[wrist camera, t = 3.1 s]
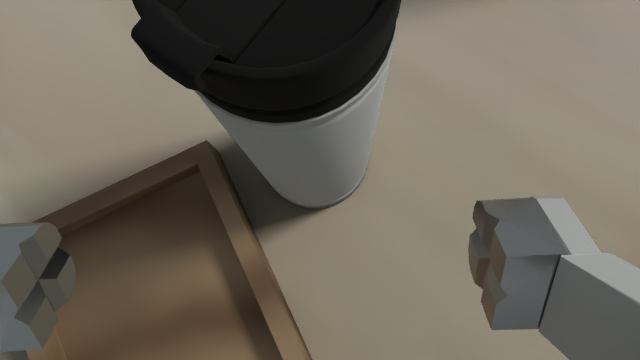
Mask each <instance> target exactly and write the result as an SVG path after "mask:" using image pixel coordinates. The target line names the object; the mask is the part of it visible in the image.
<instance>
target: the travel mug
mask: <svg viewBox="0 0 640 360" xmlns="http://www.w3.org/2000/svg"><path fill="white" fill-rule="evenodd" d="M132 1H133V4H134V6H135V8H136V10H137V12H138V14H139V15H140V17H141V19H140V20H139V21H138V23H137V24H136V25H135V26H134V27H133V29H132V32H131V37H132V38H133V40H134V41H135V42H136V43H137V44H138V46H139V47H140V48H141V49H142V51H143V52H144V54H145V55H146V57H147V58H148V60H149V61H150V62H151V63H152V64H154V65H155V66H156V67H157V68H159V69H160V70H161V71H163V72H164V73H165V74H166V75H168V76H169V77H171V78H172V79H174V80H175V81H177V82H178V83H180V84H181V85H183V86H184V87H186V88H189V89H192V90H194V91H195V92H196V93H197V94H198V95H199V96H200V98H201V99H202V100H203V102H204V103H205V104H206V105H207V107H208V108H209V109H210V110H211V112H212V113H213V114H214V115H215V117H216V118H217V119H218V120H219V122H220V123H221V124H222V125H223V126H224V128H225V129H226V130H227V131H228V133H229V134H230V135H231V136H232V138H233V139H234V140H235V141H236V143H237V144H238V145H239V146H240V148H241V149H242V150H243V151H244V152H245V154H246V155H247V156H248V157H249V159H250V160H251V161H252V162H253V164H254V165H255V166H256V167H257V169H258V170H259V171H260V172H261V173H262V175H263V176H264V177H265V178H266V180H267V181H268V182H269V183H270V185H271V186H272V187H273V188H274V190H275V191H276V192H277V193H278V194H279V195H280V196H282V197H283V198H284V199H285V200H287V201H289V202H290V203H292V204H295V205H297V206H300V207H304V208H311V209H317V208H326V207H330V206H334V205H336V204H338V203H340V202H342V201H344V200H345V199H346V198H348V197H349V196H350V195H352V193H353V192H354V191H355V190H356V189H357V188H358V187H359V185H360V183H361V181H362V180H363V178H364V175H365V172H366V169H367V165H368V161H369V156H370V152H371V147H372V142H373V138H374V133H375V129H376V124H377V120H378V115H379V111H380V106H381V102H382V97H383V92H384V88H385V83H386V79H387V74H388V70H389V65H390V61H391V56H392V51H393V46H394V42H395V37H396V30H397V22H398V13H399V9H400V4H401V0H132Z"/></svg>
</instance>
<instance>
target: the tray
mask: <svg viewBox="0 0 640 360" xmlns="http://www.w3.org/2000/svg"><path fill="white" fill-rule="evenodd" d="M45 222H47V223H50V224H53V225H55V226H56V228H57V230H58V232H59V233H60V235H61V237H62V240H61V242H60V244H59V248H61V249H62V250H64V251H65V252H66V253H68V254H69V255H70V256H71V258H72V260H73V262H74V265H75V270H76V281H75V288H74V291H73V293H72V295H71V297H70V299H69V301H68V302H67V303H66V304H65V305H63V306H62V307H61V308H59V309H58V310H57V311H56V314H57V317H58V322H57V324H56V326H55V328H54V329H53V331H52V333H51V335H50V337H49V339H48V341H47V342H46V344H45V346H44V348H43V349H37V350H26V353H27V356H28V359H29V360H312V358H311V356H310V354H309V352H308V349H307V347H306V345H305V343H304V340H303V338H302V336H301V334H300V332H299V329H298V327H297V325H296V323H295V320H294V318H293V316H292V314H291V312H290V309H289V307H288V305H287V303H286V300H285V298H284V296H283V294H282V292H281V289H280V287H279V285H278V283H277V280H276V278H275V276H274V274H273V272H272V269H271V267H270V265H269V263H268V260H267V258H266V256H265V254H264V252H263V249H262V247H261V245H260V243H259V240H258V238H257V236H256V234H255V232H254V229H253V227H252V225H251V223H250V220H249V218H248V216H247V214H246V212H245V209H244V207H243V205H242V203H241V200H240V198H239V196H238V194H237V192H236V189H235V187H234V185H233V183H232V180H231V178H230V176H229V174H228V172H227V169H226V167H225V165H224V163H223V160H222V158H221V156H220V154H219V152H218V151H217V150H216V149H215V148H214V147H213V146H212V145H211V144H210V143H209V142H208V141H207V140H206V141H204V142H202V143H200V144H198V145H196V146H194V147H192V148H189V149H187V150H185V151H183V152H181V153H179V154H177V155H175V156H172V157H170V158H168V159H166V160H164V161H162V162H160V163H158V164H155V165H153V166H151V167H149V168H147V169H145V170H143V171H141V172H138V173H136V174H134V175H132V176H130V177H128V178H126V179H124V180H121V181H119V182H117V183H115V184H113V185H111V186H109V187H107V188H104V189H102V190H100V191H98V192H96V193H94V194H92V195H90V196H87V197H85V198H83V199H81V200H79V201H77V202H75V203H73V204H70V205H68V206H66V207H64V208H62V209H60V210H58V211H56V212H53V213H51V214H49V215H47V216H45V217H43V218H41V219H39V220H36V221H34V222H32V223H45Z"/></svg>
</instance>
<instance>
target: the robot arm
mask: <svg viewBox="0 0 640 360" xmlns="http://www.w3.org/2000/svg"><path fill="white" fill-rule="evenodd" d="M472 218H473V220H474V223H475V225H476V228H477V229H476V230H475V231H474V232H473V233H472V234H471V235H470V239H469V248H468V251H469V265H470V269H471V274H472V277H473V280H474V283H475V284H477V285H478V286H479V287H481V288H482V289H483V292H482V298H481V303H482V305H483V308H484V311H485V314H486V317H487V319H488V322H489V325H490V328H491V330H509V329H539V332H540V333H541V334H542V335H543V336H544V337H545V338H547V339H548V340H549V341H550V342H551V343H552V344H553V345H554V346H555V347H556V348H558V349H559V350H560V351H561V352H562V353H563V354H564V355H565V356H566V357H567V358H568V359H570V360H640V269H639V268H637V267H635V266H633V265H631V264H630V263H628V262H626V261H624V260H622V259H621V258H619V257H617V256H615V255H613V254H611V253H601V251H600V250H599V248H598V247H597V246H596V244H595V243H594V241H593V240H592V238H591V237H590V235H589V234H588V233H587V231H586V230H585V228H584V227H583V225H582V224H581V222H580V221H579V220H578V218H577V217H576V215H575V214H574V212H573V211H572V209H571V208H570V207H569V205H568V204H567V202H566V201H565V199H564V198H563V197H561V196H560V195H547V196H534V197H530V198H514V199H497V200H479V201H477V202H476V204H475V206H474V211H473V217H472ZM61 240H62V237H61V235H60V233H59V232H58V230H57V228H56V226H55V225H53V224H50V223H47V222H45V223H11V224H0V352H9V351H23V350H37V349H43V348H44V346H45V344H46V342H47V341H48V339H49V337H50V335H51V333H52V331H53V329H54V328H55V326H56V324H57V322H58V317H57V314H56V311H57V310H58V309H59V308H61V307H62V306H63V305H65V304H66V303H67V302H68V301H69V299H70V297H71V295H72V293H73V291H74V288H75V281H76V270H75V265H74V262H73V260H72V258H71V256H70V255H69V254H68V253H66V252H65V251H64V250H62V249H61V248H59V244H60V242H61Z"/></svg>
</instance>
